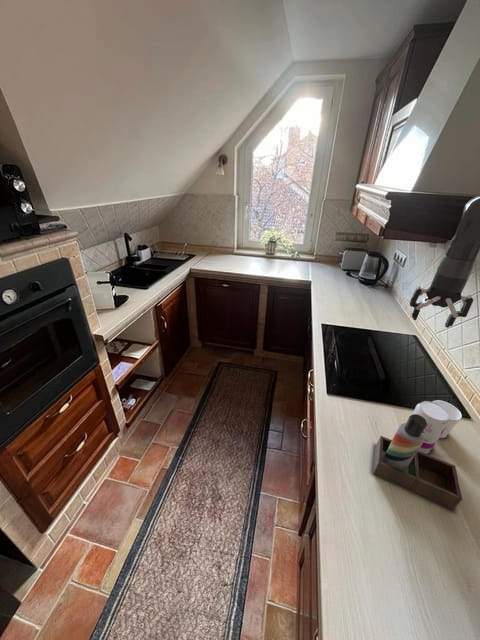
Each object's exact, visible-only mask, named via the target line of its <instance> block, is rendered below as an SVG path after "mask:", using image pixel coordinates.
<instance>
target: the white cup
mask: <svg viewBox="0 0 480 640" xmlns="http://www.w3.org/2000/svg"><path fill="white" fill-rule="evenodd" d="M432 402H434V403H436V404H438V405H440V406H441V407H443V408H444V409H445V410H446V411H447V412H448V414H449V423H448V425H447V427H446V428H445V430H444V431H443V433H442V434H441V436H440V437H439V439H445V438H446V437H447V436H448V435H449V433H451V432H452V430H454V428H455V427H456V426H457V424H458V423H459V422H460V420H461V419H462V418H463V416H462V413H461V411H460V409H458V408H457V407H456V406H454V405H453V404H452V403H449V402H448V401H444V400H439V399H436V400H432Z"/></svg>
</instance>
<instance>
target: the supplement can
mask: <svg viewBox="0 0 480 640" xmlns="http://www.w3.org/2000/svg"><path fill="white" fill-rule="evenodd" d="M413 414H417V415H420V416H422V417H423V418H424V419H425V420H426V422H427V426H426V428H425V429H424V431H423V434H424V441H423V442H422V444H421V446H420V447H419V449H418V451H420V452H423V453H425V454H429V453H431V451H432V450H433V448H434V447H435V445H436V443H437V442H438V440H439V439H440V438H439V437H440V436H441V434H442V433H443V431H444V430H445V428H446V427H447V425H448V423H449V414H448V412H447V411H446V410H445V409H444V408H443V407H441V406H440V405H438V404H436V403H434V402H433V401H430V400H424V401H421V402H420V403H417V404H416V406H415V407H414V409H413V412H412V413H411V415H413Z"/></svg>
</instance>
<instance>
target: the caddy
mask: <svg viewBox="0 0 480 640" xmlns="http://www.w3.org/2000/svg"><path fill="white" fill-rule="evenodd" d="M392 440H393V439H390V438H387V437H385V436H383V435H380V436H379V438H378V440H377V442H376V443H375V444H376V445H375V449H374V450H375V451H374V459H373V470H372V471H373V472H372V473H373V474H374V475H376V476H378V477H380V478H382V479H384V480H386V481H389V482H391V483H393V484H395V485H397V486H399V487H401V488H404V489H406V490H408V491H410V492H412V493H414V494H417V495H418V496H420V497H423V498H425V499H427V500H429V501H432V502H434V503H436V504H437V505H440V506H442V507H444V508H447V509H449V510H450V511H454V510H455V508H456V507H457V506H458V505H459V504H460V503H461V501H462V500H463V497H462V492H461V487H460V483H459V478H458V477H459V476H458V473H457V467H456V465H455V464H453V463H450V462H447V461H446V460H443V459H440V458H437V457H436V456H433V455H430V454H429V453H427V454H425V453H423V452H420V451H417V452H416V454H415V456H414V457H413V459H412V461H411V462H410V464H409V466H408V467H407V469H406V470H405V472H404V471H402V470H400V469H397V468H395V467H393V466H391V465H388V464H386V463H384V462H383V458H384V455H385V453H386V452H387V450H388V448H389V446H390V444H391V442H392Z"/></svg>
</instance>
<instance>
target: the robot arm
mask: <svg viewBox="0 0 480 640" xmlns="http://www.w3.org/2000/svg"><path fill="white" fill-rule="evenodd" d="M479 256H480V195H477V196H474V197H473V198H471V199H470V200H469V201H467V203H465V205H464V207H463V210H462V216H461V219H460V222H459V224H458V226H457V229H456V231H455V235H453V237H452V238H451V240H450V242H449V243H448V246H447V248H446V251H445V252H444V256H443V257H442V259H441V261H440V262H439V265H438V266H437V268H436V272H435V275H434V276H433V279H432V281H431V283H430V286H429V287H428V288H427V289H426V288H422V287H421V286H416V288H415V290H414V292H413V294H412V296H411V298H410V300H409V306H410V307H411V308H413V310H412V313H411V318H412V320H413V321H417V319H418V318H419V315H420V312H421V309H423V308H425V307H428V306H429V305H432V306H433V307H440V308H443V309H444V308H448V309H449V311H450V314H449V315H448V317H447V319H446V321H445V323H444V327H445V328H448V329H449V328H450V327H453V325H454V324H455V322H456V320H457V318H466V317H468V314H469V312H470V309H471V307H472V305H473V302H474V298H473V296H472V295H470V294H469V295H468V294H467V296H466V295H462V293H463V291H464V289H465V287H466V285H467V283H468V281H469V279H470V277H471V275H472V273H473V271H474V268H475V265H476V262H477V260H478V259H479ZM424 294H425V296H426V297H424V298H423V299H422V300H421V301H418V299H419V297H422V296H423V295H424ZM460 300H461V303H462V306H461V308H460V310H456V308H455V305H454V304H456V303H457V302H460ZM417 301H418V302H417Z"/></svg>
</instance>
